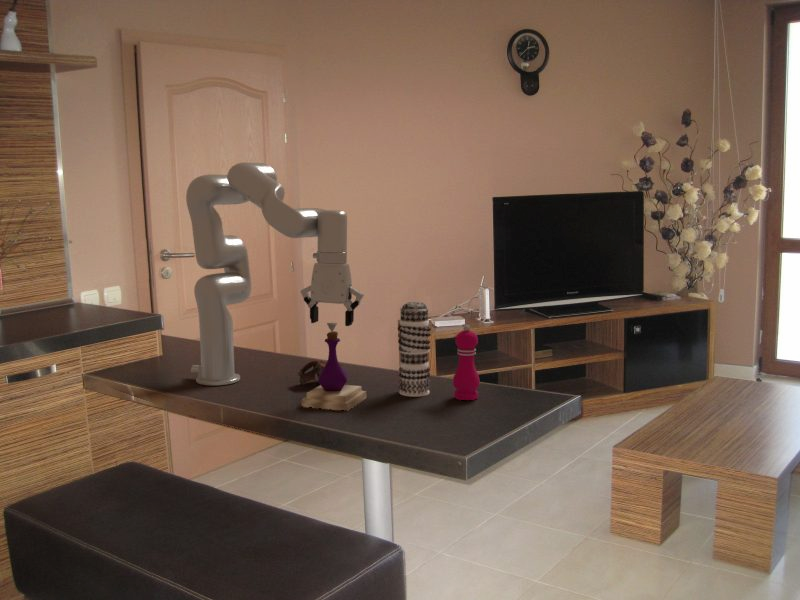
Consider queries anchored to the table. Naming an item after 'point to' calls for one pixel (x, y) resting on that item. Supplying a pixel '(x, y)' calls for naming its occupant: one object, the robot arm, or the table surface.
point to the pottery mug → (310, 375)
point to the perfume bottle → (332, 365)
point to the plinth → (334, 398)
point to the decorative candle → (414, 350)
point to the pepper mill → (466, 366)
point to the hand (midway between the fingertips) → (331, 323)
